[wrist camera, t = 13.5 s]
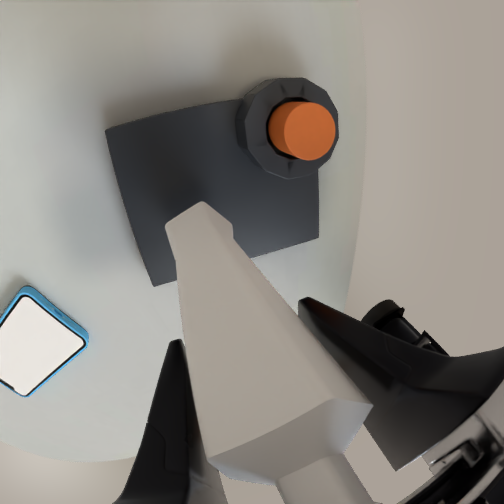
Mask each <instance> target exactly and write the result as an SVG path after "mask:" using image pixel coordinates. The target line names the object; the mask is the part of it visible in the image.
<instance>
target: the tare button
mask: <svg viewBox="0 0 504 504" xmlns="http://www.w3.org/2000/svg"><path fill="white" fill-rule="evenodd" d="M268 131H269V136H270V139H271V141H272V142H273V144H274V145H275V146H276V147H277V148H278V149H279V150H281V151H283V152H285V153H287V154H290V155H292V156H295V157H297V158H300V159H303V160H315V159H318V158H320V157H322V156H323V155H324V154H326V153H327V152H328V150H329V149H330V148H331V146H332V144H333V142H334V138H335V123H334V120H333V118H332V116H331V114H330V113H329V111H328V110H327V109H326V108H324V107H323V106H321V105H319V104H317V103H312V102H287V103H284V104H282V105H280V106H279V107H278V108H276V109H275V111H274V112H273V113H272V115H271V117H270V120H269V125H268Z"/></svg>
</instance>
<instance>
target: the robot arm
mask: <svg viewBox="0 0 504 504" xmlns="http://www.w3.org/2000/svg"><path fill="white" fill-rule="evenodd" d="M404 311H405V309H404V308H403V307H402V308H400V309H398V310H396V311H395V312H393V313H391V314H389V315H387V316H385V317H384V318H382V319H380V320H378V321H376V322H375V323H374V324H373V325H372V327H371V326H369V325H367V324H365V323H363V322H361V321H359V320H356V319H354V318H352V317H350V316H348V315H346V314H344V313H342V312H340V311H338V310H335V309H333V308H331V307H329V306H327V305H325V304H323V303H321V302H319V301H317V300H315V299H313V298H310V297H306V298H303V299H301V300H299V301H298V317H299V318H300V319H301V320H302V322H303V323H304V324H305V325H306V326H307V328H308V329H309V330H310V331H311V332H312V333H313V335H314V336H315V337H316V338H317V339H318V341H319V342H320V343H321V344H322V345H323V347H324V348H325V349H326V350H327V351H328V352H329V354H330V355H331V356H332V357H333V358H334V360H335V361H336V362H337V363H338V364H339V365H340V367H341V368H342V369H343V370H344V371H345V373H346V374H347V375H348V376H349V377H350V378H351V380H352V381H353V382H354V383H355V384H356V386H357V387H358V388H359V389H360V390H361V391H362V393H363V394H364V395H365V396H366V397H367V398H368V400H369V401H370V402H371V403H372V404H373V407H372V409H371V410H370V412H369V414H368V416H367V417H366V419H365V421H364V422H363V424H364V425H365V427H366V428H367V430H368V431H369V433H370V435H371V436H372V438H373V439H374V440H375V442H376V443H377V445H378V446H379V448H380V449H381V451H382V452H383V454H384V455H385V456H386V458H387V460H388V461H389V463H390V464H391V466H392V467H393V468H394V470H395V471H398V470H400V469H401V468H403V467H404V466H406V465H407V464H409V463H411V462H412V461H414V460H415V459H417V458H418V457H420V456H422V458H423V459H424V460H425V461H426V463H427V464H428V466H429V470H430V471H431V472H432V474H433V475H434V476H433V477H432V478H431V479H429V480H428V481H427V482H426V483H424V484H423V485H422V486H421V487H419V488H418V489H417V490H416V491H414V492H413V493H412V494H410V495H409V496H407V497H406V498H404V499H403V500H402V501H400V502H399V503H397V504H504V347H502V348H499V349H496V350H491V351H486V352H482V353H477V354H472V355H466V356H460V357H450V356H449V355H448V354H447V353H446V352H445V351H444V349H442V347H441V346H440V345H439V344H438V343H437V342H436V341H435V340H434V339H433V338H432V337H431V336H430V335H429V334H428V333H427V332H426V331H425V330H424V332H423V333H422V335H421V334H420V333H419V332H418V331H417V330H416V329H415V328H414V327H413V326H412V325H411V324H410V323H409V322H408V321H407V320H406V319H405V318H404V317H403V314H404ZM429 342H431V344H430V343H429ZM147 422H148V423H146V427H145V431H144V435H143V438H142V442H141V445H140V448H139V451H138V454H137V456H136V459H135V462H134V465H133V467H132V470H131V472H130V475H129V478H128V480H127V483H126V485H125V488H124V490H123V492H122V493H121V495H120V496H119V498H118V499H117V500H116V501H115V502H114V503H113V504H228V503H227V499H226V496H225V494H224V490H223V486H222V482H221V479H220V475H219V471H218V470H217V469H216V468H215V467H214V466H212V465H211V464H210V463H209V462H208V461H207V458H206V454H205V450H204V446H203V441H202V437H201V432H200V428H199V423H198V418H197V413H196V408H195V403H194V398H193V392H192V387H191V381H190V375H189V369H188V362H187V356H186V349H185V346H184V344H183V341H182V340H181V339H177V340H173V341H171V342H170V343H169V346H168V349H167V353H166V356H165V359H164V363H163V366H162V369H161V373H160V376H159V380H158V383H157V387H156V390H155V394H154V397H153V401H152V405H151V408H150V412H149V416H148V420H147Z"/></svg>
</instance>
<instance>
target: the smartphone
mask: <svg viewBox="0 0 504 504" xmlns="http://www.w3.org/2000/svg"><path fill="white" fill-rule="evenodd" d="M88 339H89V336H88V333H87V332H86V331H85V330H84V329H83V328H82V327H80V326H79V325H78V324H76V323H75V322H74V321H72V320H71V319H70V318H69V317H67V316H66V315H65V314H64V313H62V312H61V311H60V310H59V309H57V308H56V307H55V306H54V305H53V304H51V303H50V302H49V301H48V300H47V299H46V298H44V297H43V296H42V295H41V294H40V293H39V292H38V291H36V290H35V289H34V288H32V287H28V286H26V287H23V288H21V290H20V291H19V292H18V294H17V295H16V296H15V298H14V299H13V300H12V302H11V303H10V305H9V306H8V307H7V309H6V310H5V312H4V313H3V315H2V316H1V318H0V383H1V384H3V385H4V386H6V387H7V388H9V389H10V390H12V391H13V392H15V393H16V394H18V395H20V396H22V397H29V396H31V395H32V394H33V393H34V392H35V391H36V390H37V389H39V388H40V387H41V386H42V385H43V384H44V383H45V382H47V381H48V380H49V379H50V378H51V377H52V376H54V375H55V374H56V373H57V372H58V371H60V370H61V369H62V368H63V367H64V366H65V365H67V364H68V363H69V362H70V361H71V360H73V359H74V358H75V357H76V356H77V355H79V354H80V353H81V352H82V351H83V350H85V349H86V348H87V346H88Z"/></svg>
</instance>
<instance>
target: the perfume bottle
mask: <svg viewBox="0 0 504 504" xmlns="http://www.w3.org/2000/svg"><path fill="white" fill-rule="evenodd" d="M165 229H166V233H167V236H168V239H169V242H170V246H171V249H172V252H173V255H174V258H175V260H176V271H177V282H178V292H179V302H180V311H181V319H182V327H183V335H184V342H185V349H186V356H187V362H188V369H189V375H190V381H191V387H192V392H193V398H194V403H195V408H196V413H197V418H198V423H199V428H200V432H201V437H202V441H203V446H204V450H205V454H206V458H207V461H208V462H209V463H210V464H211V465H212V466H214V467H215V468H216V469H217V470H219V471H220V472H221V473H223V474H224V475H225V476H227V477H229V478H230V479H235V480H241V481H246V482H252V483H259V484H266V485H275V486H277V488H278V491H279V493H280V495H281V497H282V499H283V501H284V503H285V504H382V503H377V502H373V500H372V499H371V497H370V496H369V494H368V493H367V491H366V489H365V488H364V486H363V485H362V483H361V481H360V480H359V478H358V477H357V475H356V474H355V472H354V470H353V469H352V467H351V466H350V464H349V462H348V461H347V459H346V458H345V456H344V454H343V453H344V451H345V450H346V449H347V447H348V446H349V444H350V443H351V441H352V440H353V438H354V437H355V435H356V433H357V432H358V430H359V429H360V427H361V425H362V424H363V422H364V421H365V419H366V417H367V416H368V414H369V412H370V410H371V409H372V407H373V404H372V403H371V402H370V401H369V400H368V398H367V397H366V396H365V395H364V394H363V393H362V391H361V390H360V389H359V388H358V387H357V386H356V384H355V383H354V382H353V381H352V380H351V378H350V377H349V376H348V375H347V374H346V373H345V371H344V370H343V369H342V368H341V367H340V365H339V364H338V363H337V362H336V361H335V360H334V358H333V357H332V356H331V355H330V354H329V352H328V351H327V350H326V349H325V348H324V347H323V345H322V344H321V343H320V342H319V341H318V339H317V338H316V337H315V336H314V335H313V333H312V332H311V331H310V330H309V329H308V328H307V326H306V325H305V324H304V323H303V322H302V320H301V319H300V318H299V317H298V316H297V314H296V313H295V312H294V311H293V310H292V308H291V307H290V306H289V305H288V304H287V303H286V301H285V300H284V299H283V298H282V297H281V295H280V294H279V293H278V292H277V291H276V289H275V288H274V287H273V286H272V285H271V283H270V282H269V281H268V280H267V279H266V277H265V276H264V275H263V274H262V273H261V271H260V270H259V269H258V268H257V267H256V265H255V264H254V263H253V262H252V261H251V259H250V258H249V257H248V256H247V255H246V253H245V252H244V251H243V250H242V249H241V247H240V246H239V245H238V244H237V243H236V241H235V240H234V239H233V227H232V224H231V223H230V222H229V221H228V220H226V219H225V218H224V217H223V216H222V215H220V214H219V213H218V212H217V211H215V210H214V209H213V208H212V207H210V206H209V205H208V204H207V203H205V202H202V201H201V202H198V203H197V204H195V205H194V206H192V207H190V208H189V209H187V210H186V211H184V212H183V213H181V214H179V215H178V216H176V217H175V218H173V219H172V220H170V221H169V222H167V223H166V225H165Z"/></svg>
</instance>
